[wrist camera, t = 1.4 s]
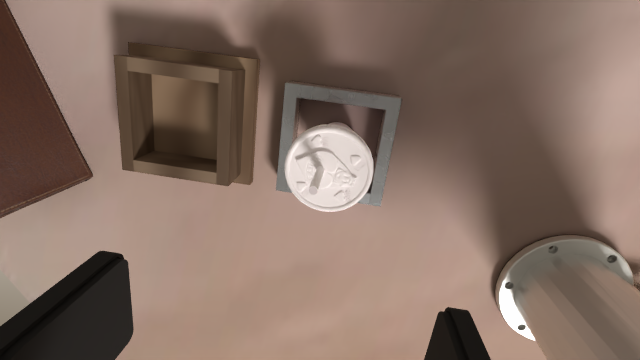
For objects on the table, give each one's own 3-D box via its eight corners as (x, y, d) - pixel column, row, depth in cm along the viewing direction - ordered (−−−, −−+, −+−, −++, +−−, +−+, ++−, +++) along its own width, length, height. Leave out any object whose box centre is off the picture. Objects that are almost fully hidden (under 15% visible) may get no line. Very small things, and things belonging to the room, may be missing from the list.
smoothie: (316, 97, 32) (287, 124, 19) (380, 121, 32) (395, 164, 19) (295, 159, 35) (256, 221, 21) (355, 181, 35) (353, 256, 22)
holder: (398, 95, 31) (401, 98, 29) (378, 196, 35) (380, 206, 33) (290, 80, 32) (285, 82, 30) (281, 181, 35) (275, 190, 33)
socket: (260, 59, 32) (244, 59, 28) (252, 181, 36) (238, 198, 32) (134, 42, 32) (101, 40, 28) (141, 164, 37) (113, 178, 32)
